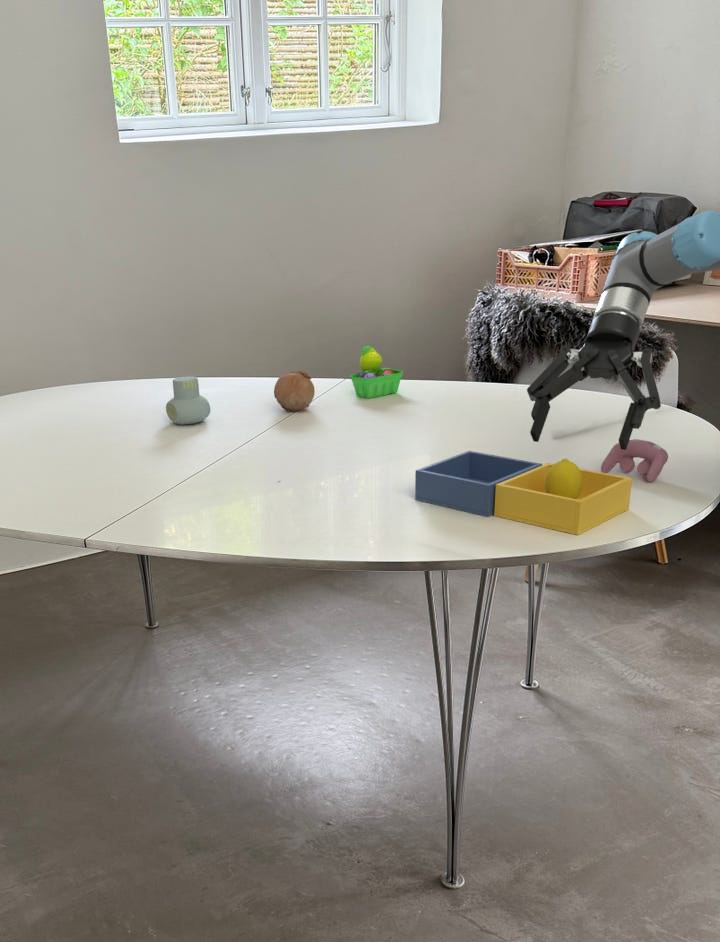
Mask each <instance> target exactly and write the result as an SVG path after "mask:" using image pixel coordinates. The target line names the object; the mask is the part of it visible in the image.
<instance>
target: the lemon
mask: <svg viewBox="0 0 720 942" xmlns="http://www.w3.org/2000/svg"><path fill="white" fill-rule="evenodd" d="M553 464H554V465H552V466H551V467H550V469H549V470H548V472H547V475H546V478H545V484H544V489H545V493H548V494H553V495H558V496H563V497H568V498H573V499H577V498H578V496H579V495H580V492H581V489H582V475H581V472H580V469H581V468H580V466H578V465H577V464H576V463H574V462H573V461H571V460H569V459H568V458H562V459H561V460H559V461H556V462H555V463H553ZM579 468H580V469H579Z"/></svg>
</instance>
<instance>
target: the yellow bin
mask: <svg viewBox="0 0 720 942" xmlns="http://www.w3.org/2000/svg"><path fill="white" fill-rule="evenodd" d="M554 464H555V463H552V462H547V463H545V464H542V466H540V467H537V468H535V469H532V470H530V471H527V472H525V473H523V474H520V475H518V476H515V477H513V478H511V479H508V480H506V481H503V482H501V483H498V484H496V489H495V509H494V514H493V516H494V517H497V518H502V519H506V520H511V521H516V522H519V523H524V524H528V525H532V526H537V527H542V528H545V529H550V530H554V531H558V532H562V533H567V534H572V535H575V536H579V535H581V534H583V533H586V532H587V531H590V530H591V529H593V528H594V527H597V526H599V525H601V524H603V523H604V522H607V521H609V520H610V519H613V518H615V517H617V516H618V515H621V514H623V513H625V512H627V511H629V509H630V501H631V493H632V484H633V477H630V476H624V475H618V474H613V473H609V472H608V473H602V472H601V471H595V470H590V469H585V468H580V467H579V469H580V472H581V475H582V489H581V492H580V495H579V496H578V498H577V499H573V498H568V497H563V496H558V495H553V494H548V493H545V489H544V484H545V478H546V475H547V472H548V470H549V469H550V467H551V466H552V465H554Z"/></svg>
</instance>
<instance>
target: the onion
mask: <svg viewBox="0 0 720 942" xmlns="http://www.w3.org/2000/svg"><path fill="white" fill-rule="evenodd" d="M315 391H316V390H315V385H314V383H313V382H312V377H311V376H310V375H308V373H307V372H306V371H305V370H302V369H301V370H300V369H298V370H294V371H291V372H287V373H284V374H282V375H281V376H279V377H278V378H277V381H276V382H275V384H274V389H273V397H274V399H276V402H277V404H278V405H279V406H280V407H281V408H282V409H283V410H284V411H286V412H296V413H297V412H302V411H304V410H305V409H307V408H309V406H310V405H311V403H312V402H313V400H314V397H315Z"/></svg>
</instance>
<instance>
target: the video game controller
mask: <svg viewBox="0 0 720 942" xmlns="http://www.w3.org/2000/svg"><path fill="white" fill-rule="evenodd" d="M634 458H638V459H643V460H642V461H640V462H639V463H638V464H637V467H636V462H635V460H634ZM668 459H669V454H668V451H667V450H666V449H664V448H663V447H661V446H660V444H657V443H655V442H652V441H649V440H644V439H637V438H636V439H635V438H633V439H629V443H628V446H627V449H626V450H622V449H621V447H620V444H619V442H618V443H617V442H616V443H614V445H613V446H612V448H611V449H610V451H609V452H608V453H607V455H606V456H605V458H604V459H603V461H602V462H601V467H600V472H602V473H608V474H609V473H610V472H611V471H612V470H613V469H614V467H616V465H617V464H619V469H620V471H621V472H623V473H631V472H633V471H634V470H635V468H636V473H638V474H639V475H640V476H643V477H646V480H647V482H649V483H652V482H654V481H655V480H656V479H657V478H659V476H660V474H661V472H662V470H663V468H664V466H665V465H666V463H667V462H668Z"/></svg>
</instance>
